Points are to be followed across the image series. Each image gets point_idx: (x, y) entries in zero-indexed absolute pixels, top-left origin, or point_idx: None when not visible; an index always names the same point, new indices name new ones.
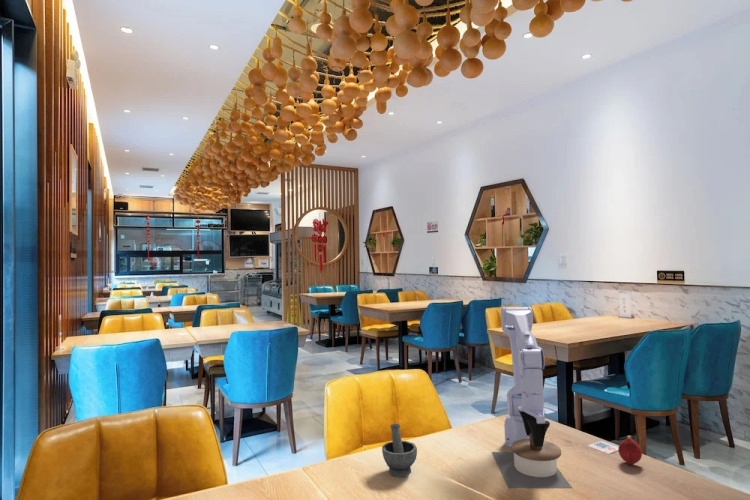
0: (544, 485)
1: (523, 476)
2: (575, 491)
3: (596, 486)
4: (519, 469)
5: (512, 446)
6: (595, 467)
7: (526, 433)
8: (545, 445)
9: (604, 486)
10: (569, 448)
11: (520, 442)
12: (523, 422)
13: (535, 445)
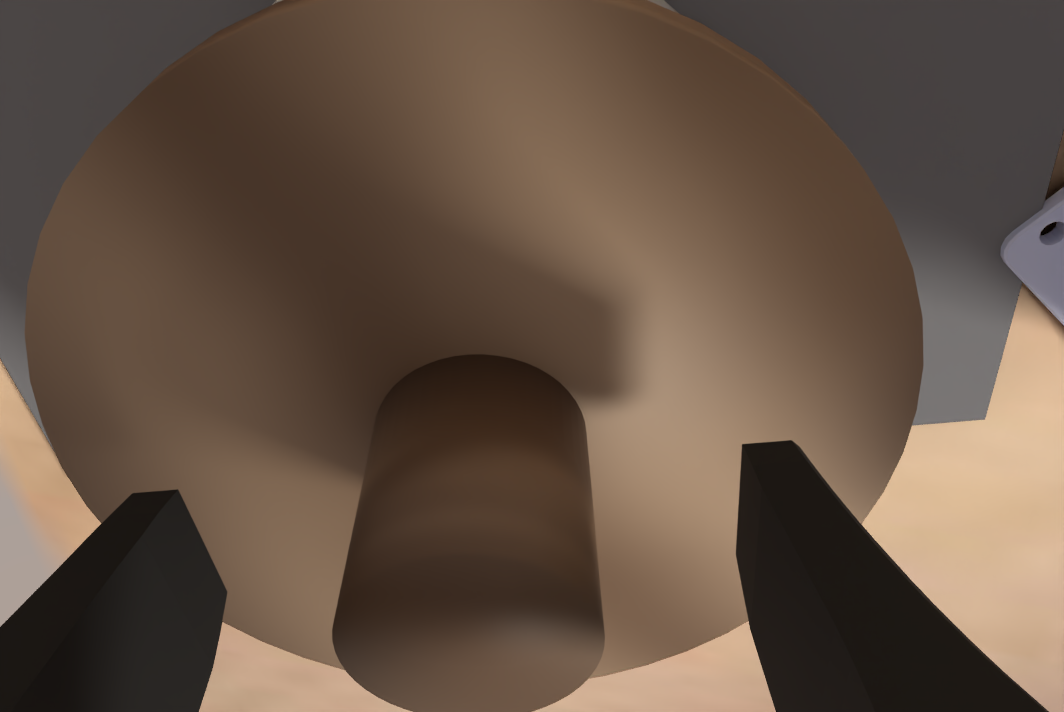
0: (2, 259)
1: (173, 30)
2: (57, 494)
3: (229, 636)
4: (275, 1)
5: (500, 2)
6: (599, 694)
7: (756, 471)
8: (599, 566)
9: (249, 675)
10: (1035, 618)
11: (747, 221)
12: (961, 652)
13: (119, 518)
